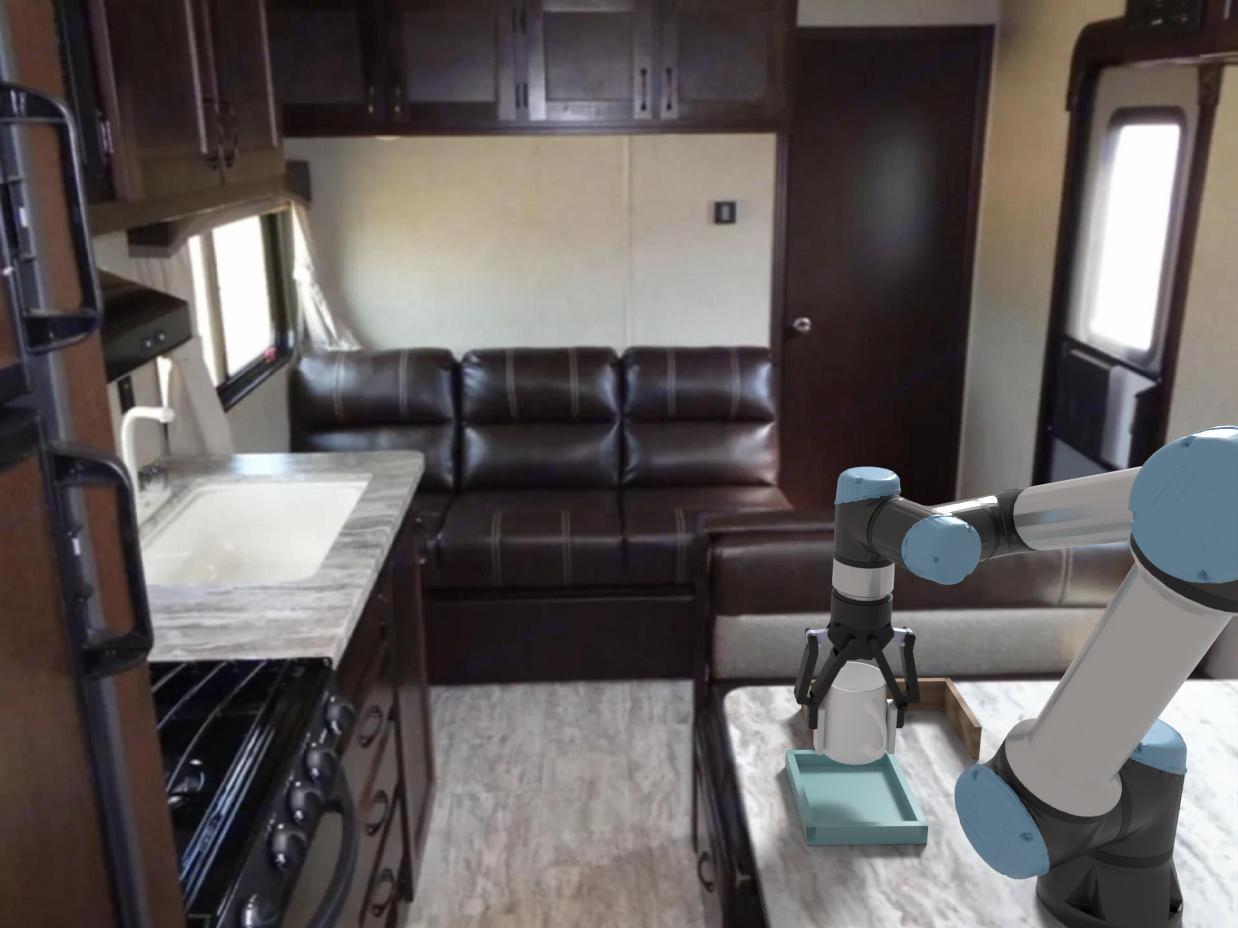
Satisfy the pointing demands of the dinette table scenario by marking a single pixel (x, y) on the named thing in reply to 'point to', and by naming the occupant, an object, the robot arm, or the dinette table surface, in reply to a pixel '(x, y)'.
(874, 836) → the tray
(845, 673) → the mug
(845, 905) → the dinette table surface
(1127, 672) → the robot arm
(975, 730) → the bay
